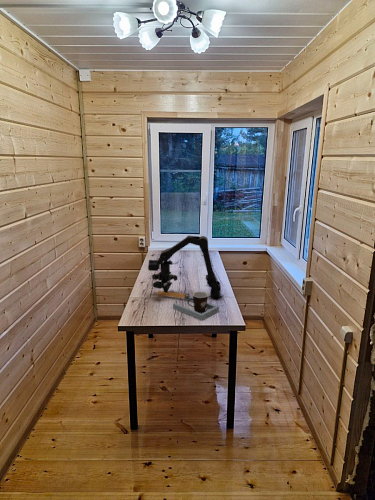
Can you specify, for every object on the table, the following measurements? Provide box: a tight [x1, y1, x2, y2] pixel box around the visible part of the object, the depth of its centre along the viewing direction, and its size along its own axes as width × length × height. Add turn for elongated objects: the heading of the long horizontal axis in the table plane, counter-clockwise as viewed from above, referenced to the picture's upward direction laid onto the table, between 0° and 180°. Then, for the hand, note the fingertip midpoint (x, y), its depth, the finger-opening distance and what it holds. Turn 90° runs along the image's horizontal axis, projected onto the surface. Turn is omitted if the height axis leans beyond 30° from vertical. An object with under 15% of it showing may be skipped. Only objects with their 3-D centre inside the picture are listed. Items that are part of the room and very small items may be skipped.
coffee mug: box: [187, 291, 209, 314], centre depth 183 cm, size 12×9×10 cm
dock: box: [172, 295, 220, 321], centre depth 186 cm, size 16×26×3 cm, turn 47°
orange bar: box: [157, 290, 190, 299], centre depth 200 cm, size 20×3×2 cm, turn 74°
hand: (165, 293), depth 204 cm, fingers closed
